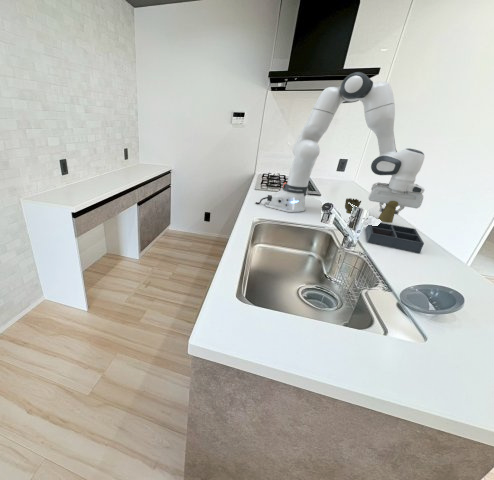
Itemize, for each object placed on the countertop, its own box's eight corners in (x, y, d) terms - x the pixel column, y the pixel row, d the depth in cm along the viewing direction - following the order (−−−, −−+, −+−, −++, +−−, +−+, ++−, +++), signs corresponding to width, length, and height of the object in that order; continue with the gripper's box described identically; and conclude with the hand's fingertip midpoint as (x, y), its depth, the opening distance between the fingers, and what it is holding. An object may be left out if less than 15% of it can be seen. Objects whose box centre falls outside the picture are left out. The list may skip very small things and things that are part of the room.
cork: (394, 223, 127) (404, 202, 122) (381, 222, 128) (390, 200, 123) (388, 219, 132) (397, 198, 127) (375, 217, 133) (383, 197, 128)
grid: (367, 242, 115) (371, 233, 113) (365, 229, 129) (368, 220, 127) (419, 253, 107) (424, 243, 105) (411, 237, 121) (415, 228, 119)
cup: (359, 215, 147) (364, 202, 143) (346, 215, 147) (351, 201, 143) (351, 211, 154) (356, 198, 150) (339, 210, 154) (343, 197, 150)
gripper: (374, 183, 124) (363, 210, 131) (429, 190, 115) (415, 219, 121) (373, 180, 129) (363, 206, 135) (426, 187, 120) (412, 215, 126)
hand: (388, 212), depth 128 cm, fingers closed on cork, 4 cm apart
